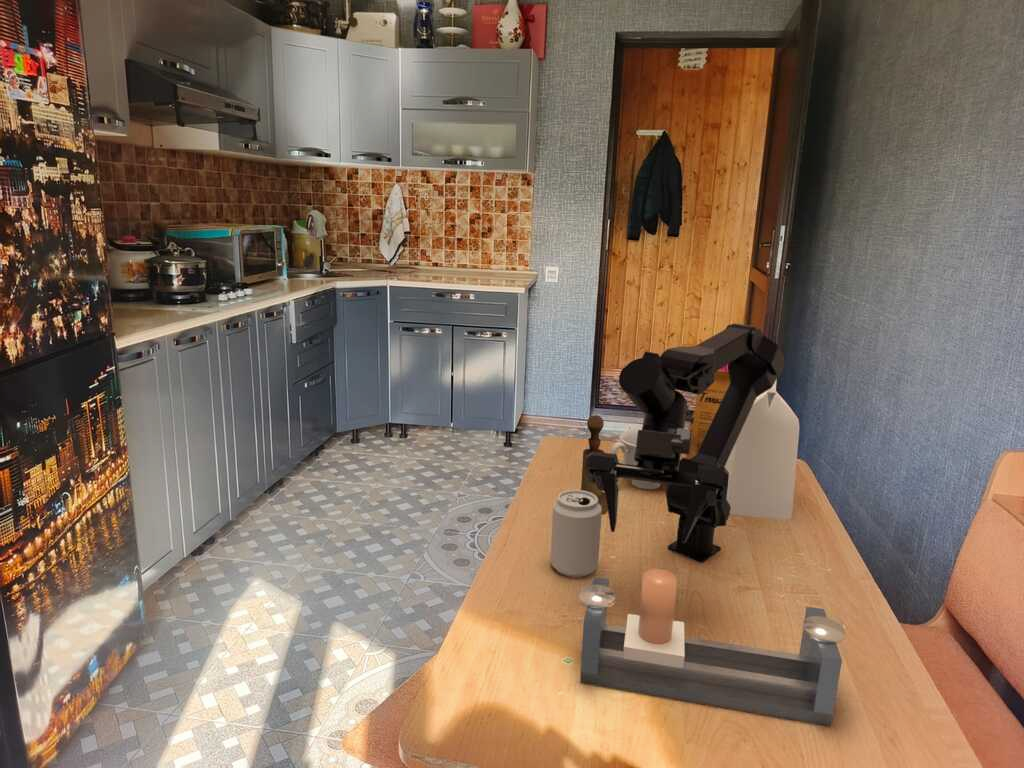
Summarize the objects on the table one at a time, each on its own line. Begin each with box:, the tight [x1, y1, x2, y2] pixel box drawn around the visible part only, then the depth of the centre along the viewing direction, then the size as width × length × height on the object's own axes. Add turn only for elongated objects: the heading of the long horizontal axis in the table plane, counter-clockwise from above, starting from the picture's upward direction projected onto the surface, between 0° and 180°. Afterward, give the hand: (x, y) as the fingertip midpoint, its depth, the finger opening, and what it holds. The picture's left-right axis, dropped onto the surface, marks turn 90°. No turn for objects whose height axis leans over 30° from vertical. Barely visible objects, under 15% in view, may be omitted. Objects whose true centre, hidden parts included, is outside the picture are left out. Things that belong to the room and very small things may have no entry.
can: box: [550, 489, 602, 578], centre depth 108 cm, size 8×8×12 cm
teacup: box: [609, 427, 661, 490], centre depth 140 cm, size 12×15×10 cm
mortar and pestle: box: [579, 414, 608, 515], centre depth 128 cm, size 7×6×18 cm
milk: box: [724, 378, 800, 521], centre depth 131 cm, size 12×12×26 cm
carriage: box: [623, 568, 685, 668], centre depth 84 cm, size 7×7×9 cm
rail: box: [578, 576, 846, 727], centre depth 84 cm, size 30×10×9 cm, turn 77°
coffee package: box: [685, 369, 730, 459], centre depth 151 cm, size 10×12×22 cm
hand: (647, 536), depth 91 cm, fingers open, 9 cm apart
